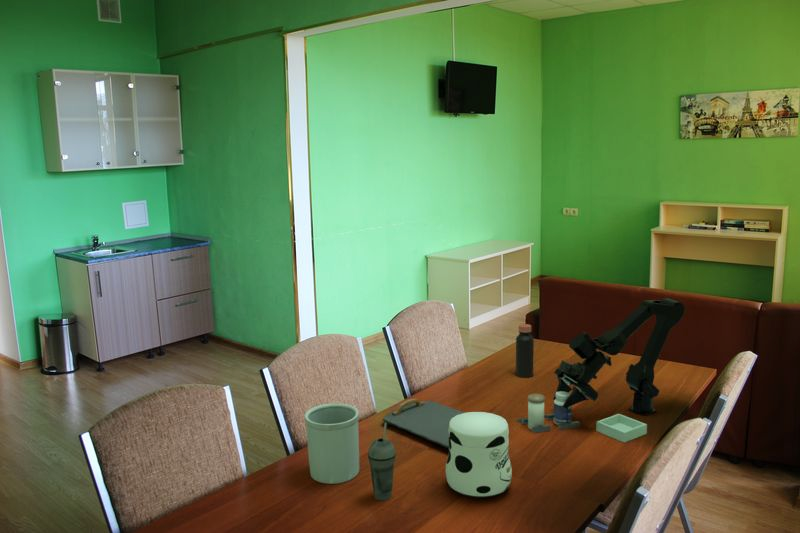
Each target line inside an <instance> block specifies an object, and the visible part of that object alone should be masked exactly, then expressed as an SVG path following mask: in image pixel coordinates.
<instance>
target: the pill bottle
mask: <svg viewBox="0 0 800 533" xmlns="http://www.w3.org/2000/svg"><path fill="white" fill-rule="evenodd" d="M555 393H556V396H555V395H554V396H555V397H556V399H555V400H553V413H554V416H553V419H552V420H553V423H554V424H555V425H557V426H558V424H562V423H568V422H572V418H573V417H572V415H573V414H572V413H573V412H572V411H573V405H572V406H570V407H567V408H564V407H563V405H564V403H565V401H566V400H567V399H568V397H569V396H570V395H571V393H570V392H564V391H560V392H556V391H555Z"/></svg>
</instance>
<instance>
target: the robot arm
mask: <svg viewBox="0 0 800 533" xmlns="http://www.w3.org/2000/svg"><path fill="white" fill-rule="evenodd" d="M685 312H686V308H685V306H684V303H682V302H680V301H677V300H673V299H671V298H667V297H666V298H662V299H660V300H659V299H657V300H656V299H654V300H652V299H651V300H648V299H646V300H643V301H641V303H640V305H639V306H638V307H637V308H636V309H634V311H632V312H631V313H630V314H629V315H628V316H627V317H626V318H625V319H624V320H623V321H622V322H621V323H619V324H618V325H617V326H616V327H615V328H611V329H609V330H606V331H605V332H604V333H602V334H601V335H599V336H598V337H596V338H591V337H590V335H589V334H587V333H586V332H585V331H582V333H581V334H577V335H576V336H574V337H572V338H571V339H570V340H569V343H568V346H569V348H570V349H571V350H572V351H573V352H574V353H575V354H576V355H577V356H578V357H579V358H580V359H582V361H581V362H580V361H578V362H576V363H575V362H574V363H572V362H571V363H570V362H568V361H565V360H561V362H560V364H559V367H557V368H556V369H555V370H554V372H553V374H554V375H556V376H557V377H556V379H557V381H558V385H557V387H556V388H557V389H556V391H555V393H554V396H553V398H552V401H554V400H555V399H556V397H555V396H556V392H560V391H564V392H568V393H570V392H571V393H570V394H571V395H570V396H569V397H568V399H567V400H566V401H565V403H564V405H563V407H564V408H567V407H570V406H572V407H573V406H574V405H577V404H579V403H583V402H584V401H589V400H592V401H593V402H596V401H597V400H598V399H599V392H598V391H596V389H595V388H593V386H592V385H590V384H589V383H590V382H591V381H592V380H593V379H594V380H596V379H598V375H597V374H598V372H600V370H601V369H602V368H603V367H604V366H605V364H606V365H607V366H609V367H611V366H612V357H611V356H616V355H618V354H620V353H621V351H622V350H623V349H624V348H625V346H626V344H627V340H628V339H629V338H630V336H632V335H633V334H634V333H635V332H636V331H637V330H638V329H639V328H640V327H641V326H642V325H644V324H645V323H646V322H647V321H648V320H649V319H650V318H651V317H652V316H653V315H655V319H656V320H655V321H656V322H655V325H654V327H653V328H652V332H651V334H650V335H649V339H648V341H647V343H646V345H645V348H644V350H643V352H642V354H641V356H640V358H639V360H638V362H636V363H635V364H633V363H631V364H629V367H628V370H627V372H626V373H625V375H626V377H625V382H626V384H627V386H628V387H629V390H631V391H633V392H634V393H633V399H632V406H631V407H628V408H629V410H630V411H632V412H635V413H637V414H640V415H643V416H647V415H650V414H652V413H656V412H657V408H654V398H655V397H658V396H659V393H660V390H659V388H657V386H656V385H655V384H654V380H655V370H654V369H655V366H656V364H657V362H658V359H659V357H660V354H661V351H662V350H663V347H664V345H665V343H666V342H667V339H668V336H669V334H670V332H671V329H672V328H674V327H675V326H676V325H678V323H680V321H681V320H682V318H683V316H684V315H685ZM598 350H599V351H598ZM605 354H607V355H605ZM609 355H610V356H609ZM571 386H572V387H571Z"/></svg>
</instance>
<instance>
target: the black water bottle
mask: <svg viewBox="0 0 800 533" xmlns="http://www.w3.org/2000/svg"><path fill="white" fill-rule="evenodd" d="M518 333H519V334H518V335H517V336H516V338H515V375H516V377H520V378H532V377H533V376H534V354H535V352H534V349H535V348H534V347H535V346H534V344H535V343H534V341H535V340H534V336H533V335H531V333H532V325H531V324H529V323H528V324H527V323H521V324H519V325H518Z"/></svg>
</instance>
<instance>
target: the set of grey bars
mask: <svg viewBox="0 0 800 533" xmlns="http://www.w3.org/2000/svg"><path fill="white" fill-rule="evenodd" d="M553 416H554V412H553V413H547V414H544V419H545V420H547V421H552V420H553ZM515 421H516V422H517V423H518V422H521V424H522V425H528V416H527V417H521V418H516V419H515ZM580 423H581V422H580V421H579V420H576V421H575V420H574V421H571V422H568V423H562V424H558V425H557V426H558V430H567V429H572V428H578V427H579V428H580ZM551 428H552V426H551V424H544V426H538V427H532V429H531V433H533V434H537V433H543V432H550V431H552V430H551Z"/></svg>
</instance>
